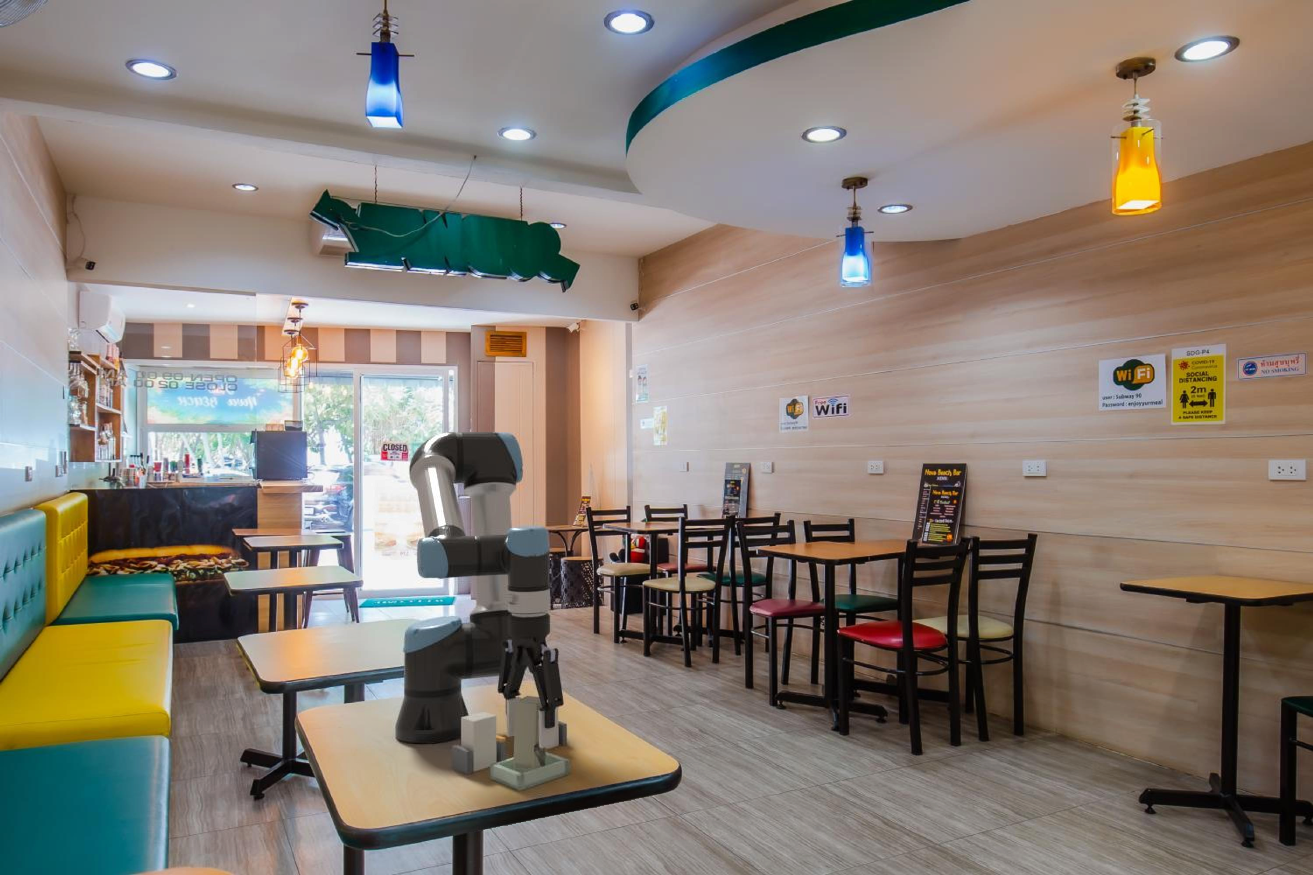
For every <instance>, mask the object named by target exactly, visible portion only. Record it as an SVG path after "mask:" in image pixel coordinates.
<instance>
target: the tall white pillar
mask: <svg viewBox="0 0 1313 875" xmlns="http://www.w3.org/2000/svg"><path fill="white" fill-rule="evenodd" d="M556 700H557V699H556ZM547 702H548V700H547ZM558 721H559V707H556V709H555V727H554V745H551V746H547V747H546V750H549V749H552V748H555V747H559V746H560V744H559V729H558Z"/></svg>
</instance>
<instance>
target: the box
mask: <svg viewBox="0 0 1313 875" xmlns="http://www.w3.org/2000/svg"><path fill="white" fill-rule="evenodd" d="M541 707H542V705H541V702H540V698H539V696H531V695H526V696H523V697H521V699H520V700H518V701H516V703H515V730H514V737H513V757H514V759H513V770H514V771H517V772H519V773H525V772H528V771H531V770H534V769H537V768H540V767H543V766H545V753H546V752H547V749H546V747H544V748H540V747H539V709H540V708H541Z"/></svg>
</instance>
